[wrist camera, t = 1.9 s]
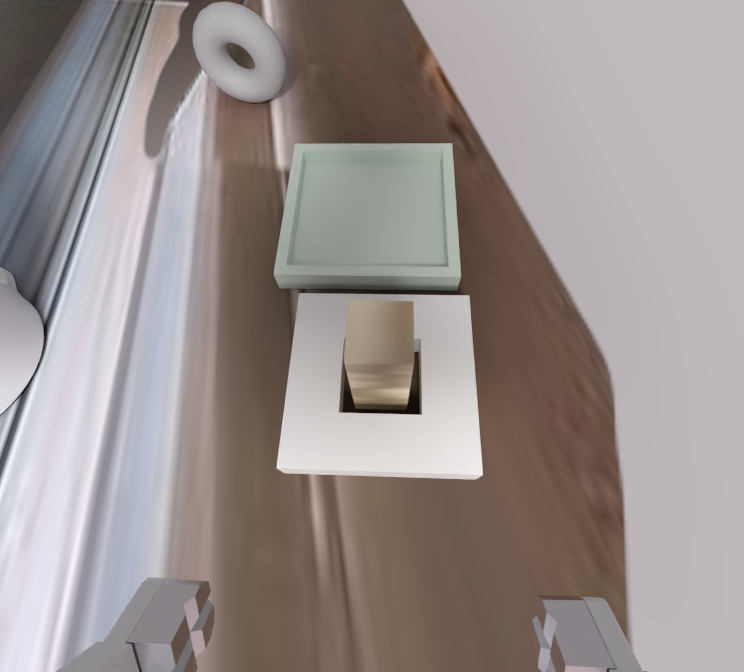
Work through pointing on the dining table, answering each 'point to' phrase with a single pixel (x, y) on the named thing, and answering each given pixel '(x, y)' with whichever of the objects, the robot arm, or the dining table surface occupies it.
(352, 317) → the maple block
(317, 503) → the dining table surface
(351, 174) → the tray
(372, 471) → the pocket plate
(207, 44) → the donut
